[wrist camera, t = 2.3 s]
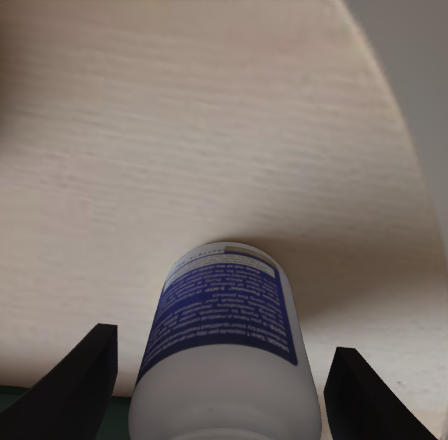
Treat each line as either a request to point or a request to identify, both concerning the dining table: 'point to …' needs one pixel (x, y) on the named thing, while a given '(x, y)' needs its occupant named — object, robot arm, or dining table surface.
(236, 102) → the dining table surface
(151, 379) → the pill bottle
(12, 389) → the long green tray
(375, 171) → the dining table surface
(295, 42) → the dining table surface
